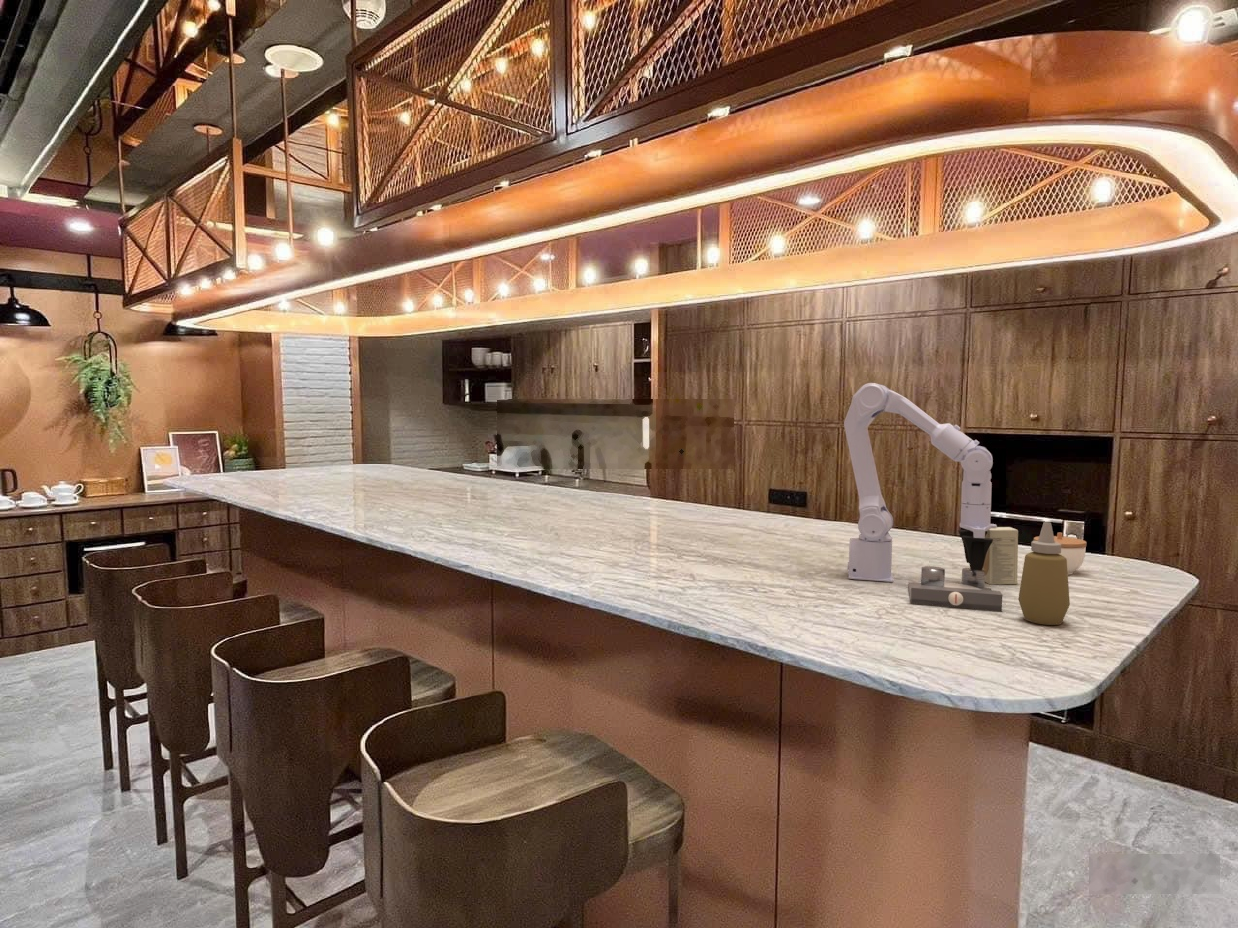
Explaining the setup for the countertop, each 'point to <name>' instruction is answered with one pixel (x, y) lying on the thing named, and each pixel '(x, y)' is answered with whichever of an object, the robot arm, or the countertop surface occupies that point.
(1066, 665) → the countertop surface
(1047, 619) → the squeeze bottle
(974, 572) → the cylinder
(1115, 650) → the countertop surface
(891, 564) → the robot arm
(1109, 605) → the countertop surface
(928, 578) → the block
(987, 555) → the skincare box
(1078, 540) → the lidded jar
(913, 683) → the countertop surface
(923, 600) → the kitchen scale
